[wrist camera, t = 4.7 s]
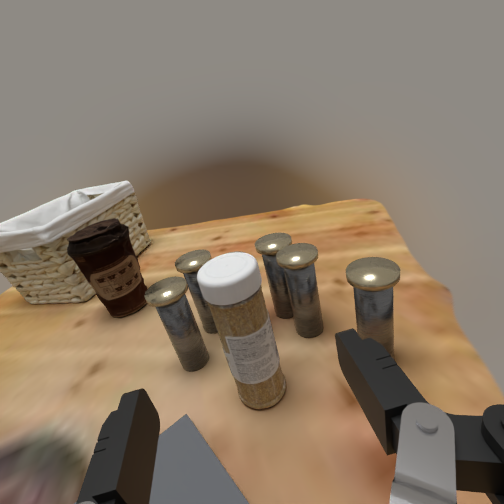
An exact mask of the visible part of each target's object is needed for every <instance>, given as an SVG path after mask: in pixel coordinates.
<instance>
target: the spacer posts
mask: <svg viewBox="0 0 504 504" xmlns="http://www.w3.org/2000/svg"><path fill="white" fill-rule="evenodd" d="M255 247H256V251H257V252H258V253H260V254H262V257H263V262H264V266H265V270H266V274H267V279H268V283H269V287H270V292H271V296H272V300H273V304H274V309H275V313H276V315H277V316H278V317H280V318H285V319H286V318H292V317H294V322H295V327H296V331H297V333H298V334H299V335H300V336H302V337H305V338H312V337H316V336H318V335H319V334H321V332H322V331H323V321H322V315H321V308H320V301H319V294H318V287H317V281H316V274H315V267H314V262H316V260H317V259H318V251H317V248H316V247H315V246H314V245H311V244H307V243H297V244H292V240H291V236H290V235H288V234H286V233H272V234H268V235H265V236H263V237H261V238H259V239H258V240H257V241H256V242H255ZM230 253H234V252H230ZM242 253H244V252H242ZM226 254H227V253H226ZM211 259H212V258H211V255H210V252H209V251H207V250H195V251H191V252H188V253H186V254H184V255H182V256H181V257H179V258H178V259H177V260H176V262H175V266H176V269H177V271H178V272H181V273H183V274H184V277H185V279H186V280H185V279H184V278H182V277H170V278H166V279H163V280H161V281H158V282H157V283H155V284H153V285H152V286H151V287H150V288H149V289H148V290H147V291H146V292H145V299H146V301H147V303H148V304H149V305H150V306H153V307H156V309H157V311H158V314H159V316H160V318H161V320H162V322H163V325H164V327H165V329H166V331H167V333H168V336H169V338H170V340H171V342H172V344H173V347H174V349H175V351H176V353H177V355H178V358H179V360H180V362H181V364H182V366H183V368H184V369H185V370H186V371H196V370H199V369H200V368H202V367H203V366H204V365H205V364H206V363H207V362H208V359H209V354H208V351H207V349H206V346H205V344H204V341H203V339H202V336H201V333H200V331H199V328H198V326H197V323H196V321H195V318H194V316H193V313H192V310H191V308H190V305H189V303H188V300H187V298H186V295H185V293H186V292H187V290H188V287H189V290H190V292H191V295H192V298H193V300H194V303H195V306H196V308H197V311H198V314H199V316H200V319H201V321H202V324H203V327H204V329H205V331H206V332H207V333H217V332H218V330H217V328H216V325H215V322H214V319H213V316H212V313H211V310H210V307H209V305H208V303H207V301H206V300H205V299H204V298H203V295H202V292H201V290H200V287H199V284H198V281H197V274H198V271H199V269H200V268H201V267H202V266H203V265H204V264H205V263H206V262H208V261H209V260H211ZM346 278H347V281H348V283H349V284H350V285H352V286H353V287H354V299H355V311H356V323H357V333H358V335H359V336H360V338H361V339H362V340H364V339H367V338H372V339H374V340H375V341H377V342H378V343H380V344H382V345H383V346H384V348H385V349H386V350H387V352H388V353H389V354H390V356H391V357H392V358H393V359H394V328H393V286H395V285H396V284H397V283H398V282H399V280H400V268H399V266H398V265H397V264H396V263H395V262H393V261H391V260H388V259H385V258H379V257H368V258H362V259H358V260H356V261H353V262H352V263H350V264H349V265H348V266H347V268H346ZM186 282H187V283H186ZM187 285H188V286H187Z"/></svg>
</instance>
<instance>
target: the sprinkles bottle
mask: <svg viewBox="0 0 504 504" xmlns="http://www.w3.org/2000/svg"><path fill="white" fill-rule="evenodd" d="M197 281H198V284H199V287H200V290H201V292H202V295H203V298H204V299H205V300H206V301H207V303H208V305H209V307H210V310H211V313H212V316H213V319H214V322H215V325H216V328H217V330H218V333H219V336H220V340H221V342H222V345H223V350H224V353H225V356H226V359H227V362H228V364H229V367H230V370H231V373H232V375H233V376H234V379H235V382H236V384H237V387H238V393H239V397H240V399H241V400H242V401H243V403H244V404H245V405H247V406H249V407H251V408H255V409H263V408H268V407H271V406H273V405H274V404H276V403H277V402H278V401H279V400H280V399H281V398H282V396H283V395H284V392H285V389H286V381H285V377H284V375H283V374H282V370H281V367H280V363H279V354H278V350H277V346H276V342H275V338H274V334H273V330H272V326H271V322H270V318H269V313H268V310H267V309H266V305H265V300H264V297H263V293H262V289H261V288H262V287H261V282H262V279H261V274H260V270H259V267H258V263H257V261H256V259H255V258H254V257H253V256H252V255H250V254H247V253H242V252H234V253H227V254H223V255H220V256H217V257H215V258H213V259H211V260H209V261H208V262H206V263H205V264H204V265H203V266H202V267H201V268H200V269H199V271H198V274H197Z"/></svg>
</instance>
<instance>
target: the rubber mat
mask: <svg viewBox="0 0 504 504" xmlns="http://www.w3.org/2000/svg"><path fill="white" fill-rule="evenodd" d="M76 503H77V502H76ZM76 503H74V504H76ZM149 504H249V503H248V501H247V500H246V499H245V497H244V496H243V494H242V493H241V491H240V490H239V489H238V487H237V486H236V484H235V483H234V481H233V480H232V479H231V477H230V476H229V474H228V473H227V471H226V470H225V468H224V467H223V466H222V464H221V463H220V461H219V460H218V458H217V457H216V456H215V454H214V453H213V451H212V450H211V448H210V447H209V445H208V444H207V443H206V441H205V440H204V438H203V437H202V435H201V434H200V433H199V431H198V430H197V428H196V427H195V425H194V424H193V422H192V421H191V420H190V418H189V417H188V415H187V414H185V415H184V416H183V417H182V418H180V419H179V420H178V421H177V422H175V423H174V424H173V425H172V426H170V427H169V428H168V429H167V430H165V431H164V432H163V433H162V434H160V435H159V439H158V446H157V453H156V460H155V466H154V473H153V480H152V487H151V494H150V501H149Z"/></svg>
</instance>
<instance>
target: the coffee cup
mask: <svg viewBox="0 0 504 504" xmlns="http://www.w3.org/2000/svg"><path fill="white" fill-rule="evenodd" d="M128 228H129V227H128V226H126V225H124V224H121V223H120V222H119V219H116V218H113V219H108V220H104V221H100V222H97V223H94V224H92V225H89V226H87V227H85V228H83V229H81V230H79V231H77V232H76V233H75V234H74V235H72V236H70V237H68V239H67V241H69V245H68V247H67V253H68V255H69V256H70V257H71V258H72V259H73V260H74V261H75V263H76V264H77V266H78V268H79V269H80V271H81V272H82V274H83V275H84V276H85V278H86V280H87V281H88V283H89V284H90V285H91V286H92V287H93V289H94V290H95V292H96V294H97V296H98V298H99V299H100V301H101V302H102V303H103V304H104V306H106V308H107V310H108V311H109V313H110V315H111V316H113V317H122V316H126V315H129V314H131V313H133V312H136V311H137V310H139V309H140V308H142V307H143V306H144V305H145V304H146V303H147V301H146V299H145V292H146V291H147V290H148V289H147V287H146V286H145V284H144V279H143V278H142V275H141V273H140V266H139V263H138V259H137V257H136V255H135V252H134V249H133V247H132V244H131V241H130V237H129V229H128Z"/></svg>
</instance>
